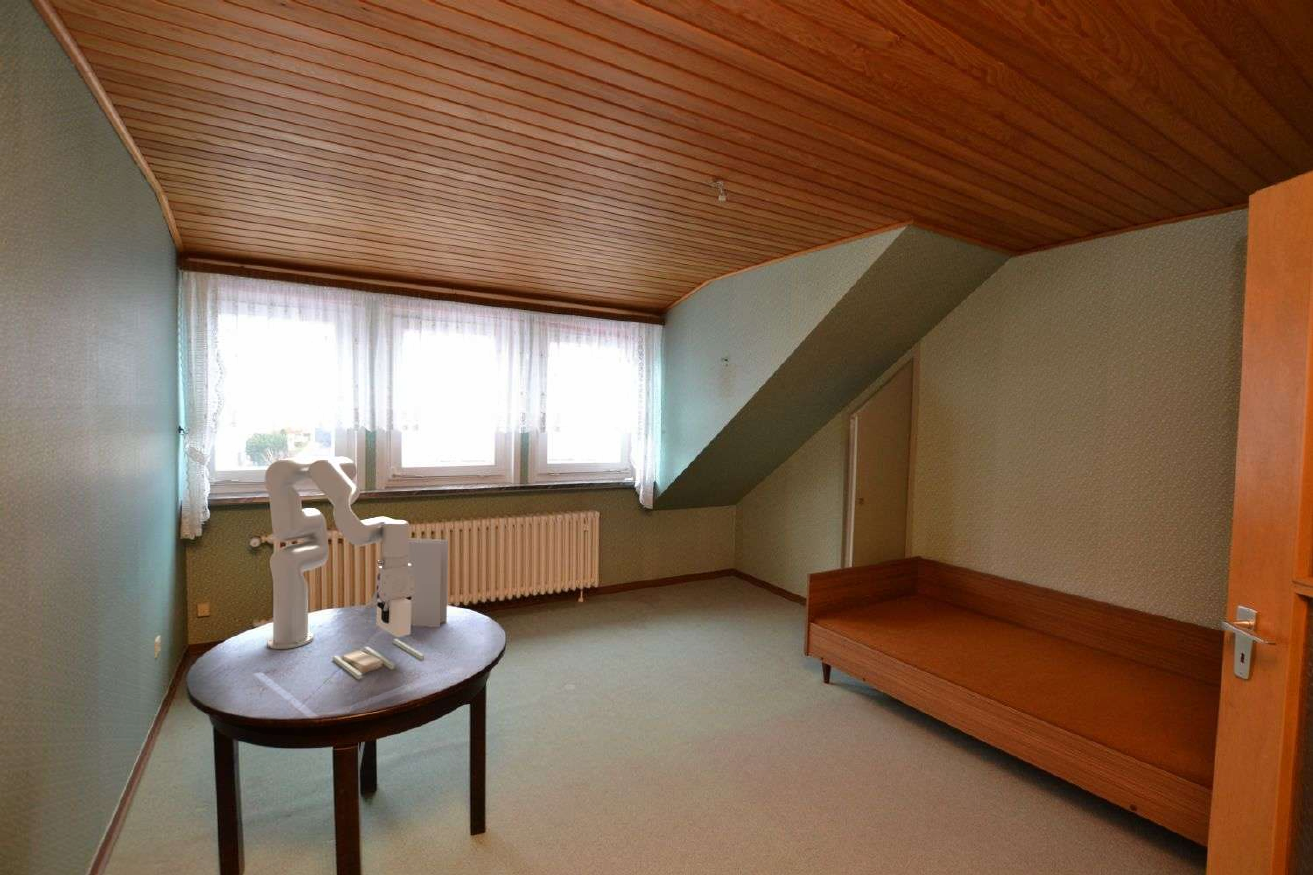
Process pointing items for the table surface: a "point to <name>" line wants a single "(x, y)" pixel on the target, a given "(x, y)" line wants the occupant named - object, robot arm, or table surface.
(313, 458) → the robot arm
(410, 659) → the table surface
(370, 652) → the rack
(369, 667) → the offcut upper
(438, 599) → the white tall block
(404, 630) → the cream rectangular block
